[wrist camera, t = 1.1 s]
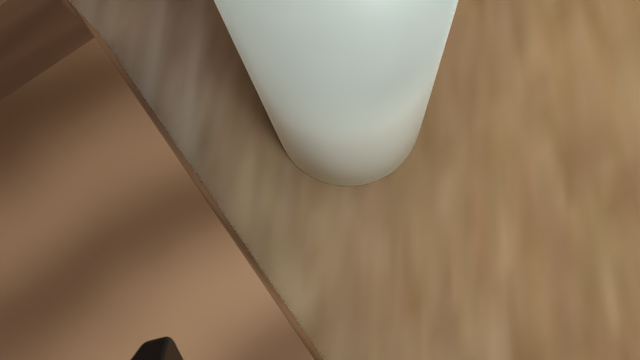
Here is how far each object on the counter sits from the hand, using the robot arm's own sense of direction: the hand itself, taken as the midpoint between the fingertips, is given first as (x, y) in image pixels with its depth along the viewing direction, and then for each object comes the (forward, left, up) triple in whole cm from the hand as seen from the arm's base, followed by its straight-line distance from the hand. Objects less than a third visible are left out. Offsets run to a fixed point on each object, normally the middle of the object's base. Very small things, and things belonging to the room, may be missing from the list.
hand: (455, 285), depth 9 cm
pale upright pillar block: (+5, +6, -13) cm, 16 cm away
